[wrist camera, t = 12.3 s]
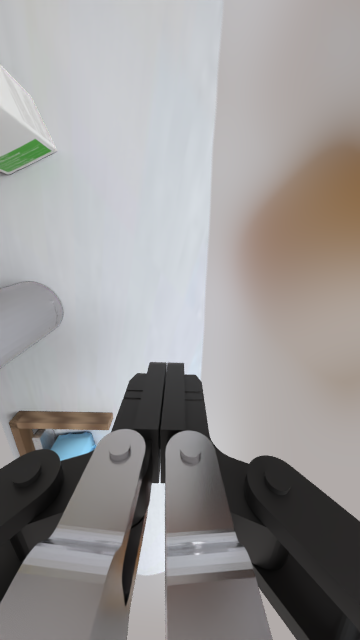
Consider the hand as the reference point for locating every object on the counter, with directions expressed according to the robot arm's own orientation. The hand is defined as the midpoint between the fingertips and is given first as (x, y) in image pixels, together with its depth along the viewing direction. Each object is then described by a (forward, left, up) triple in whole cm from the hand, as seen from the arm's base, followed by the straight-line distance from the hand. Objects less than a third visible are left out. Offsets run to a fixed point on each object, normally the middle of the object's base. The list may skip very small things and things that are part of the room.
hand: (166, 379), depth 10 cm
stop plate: (-27, -38, -27) cm, 54 cm away
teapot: (-22, -37, -27) cm, 51 cm away
